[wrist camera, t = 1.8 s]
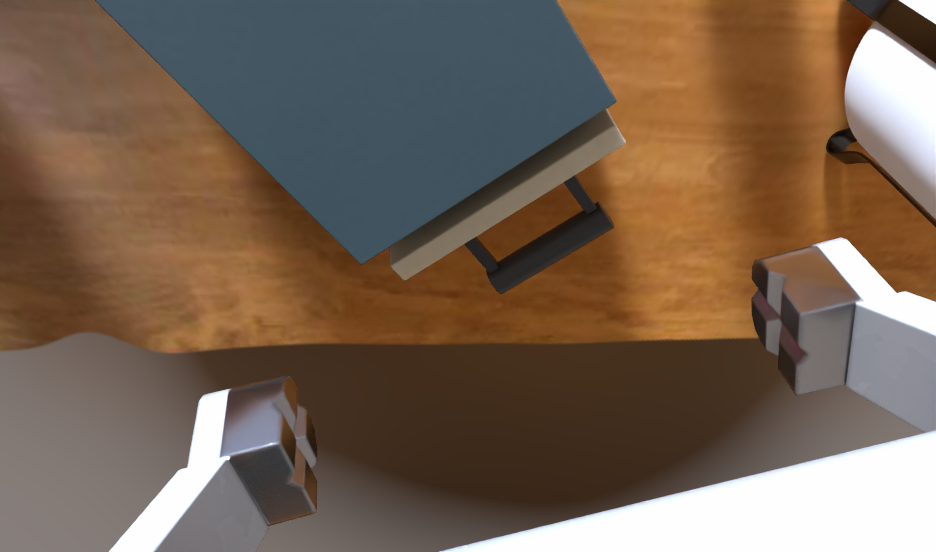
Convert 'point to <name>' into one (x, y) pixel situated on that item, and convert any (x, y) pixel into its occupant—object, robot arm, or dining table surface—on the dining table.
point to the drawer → (511, 196)
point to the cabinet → (376, 96)
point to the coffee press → (895, 99)
